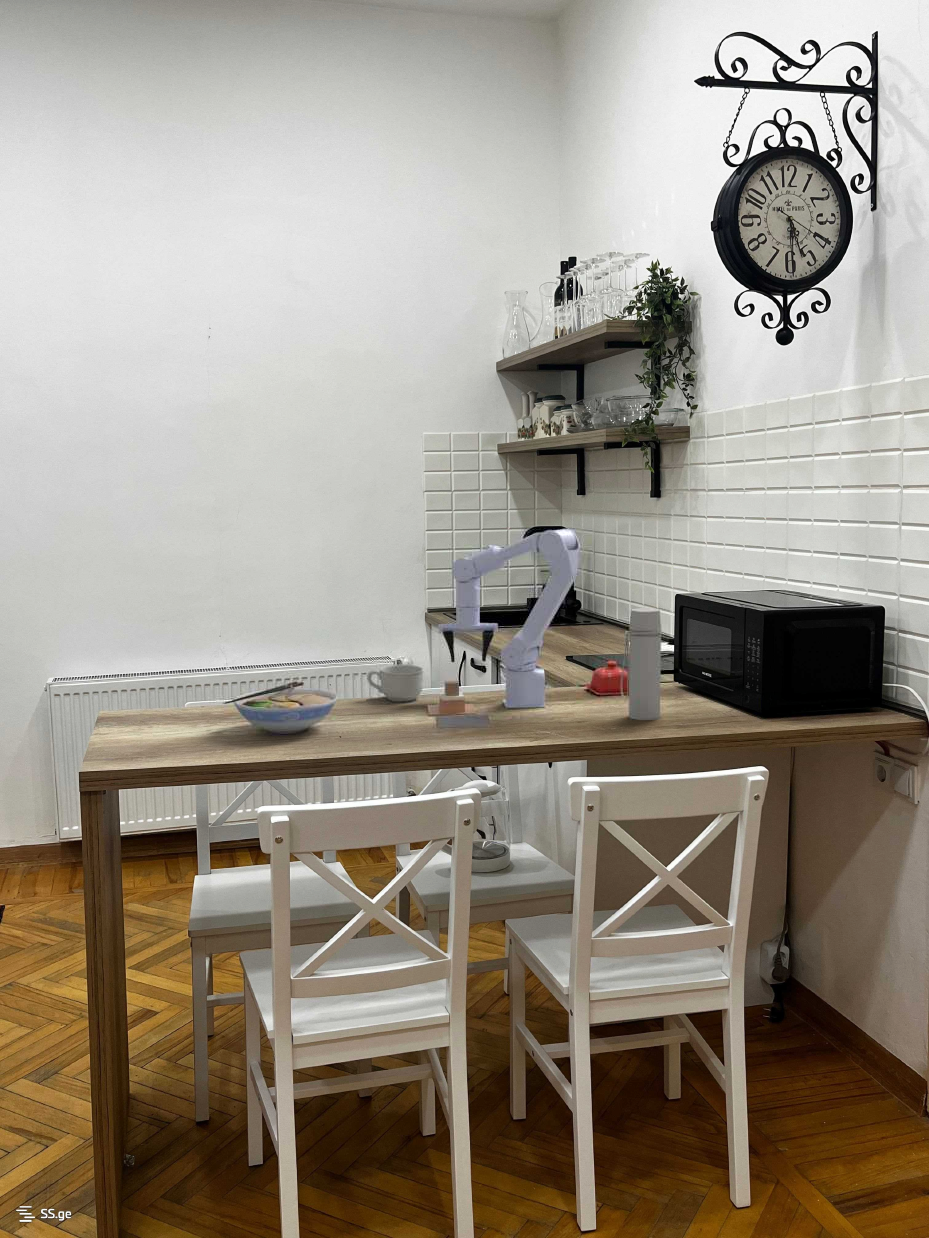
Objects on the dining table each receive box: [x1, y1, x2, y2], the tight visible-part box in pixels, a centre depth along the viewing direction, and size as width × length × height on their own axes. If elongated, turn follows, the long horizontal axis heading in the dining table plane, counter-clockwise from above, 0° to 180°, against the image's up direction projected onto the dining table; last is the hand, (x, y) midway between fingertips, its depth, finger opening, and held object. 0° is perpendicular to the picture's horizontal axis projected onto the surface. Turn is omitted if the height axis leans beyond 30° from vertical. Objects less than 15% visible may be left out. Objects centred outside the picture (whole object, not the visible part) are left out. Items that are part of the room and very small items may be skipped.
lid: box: [439, 680, 466, 701], centre depth 251 cm, size 5×5×4 cm
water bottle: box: [620, 607, 663, 721], centre depth 241 cm, size 9×8×25 cm
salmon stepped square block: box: [426, 693, 478, 717], centre depth 253 cm, size 11×11×4 cm
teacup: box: [366, 664, 424, 703], centre depth 268 cm, size 14×11×8 cm
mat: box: [435, 714, 493, 729], centre depth 241 cm, size 12×12×1 cm
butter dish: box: [584, 660, 629, 697], centre depth 273 cm, size 12×12×8 cm
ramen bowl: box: [222, 681, 339, 735], centre depth 234 cm, size 25×23×8 cm
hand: (468, 661), depth 264 cm, fingers open, 7 cm apart
